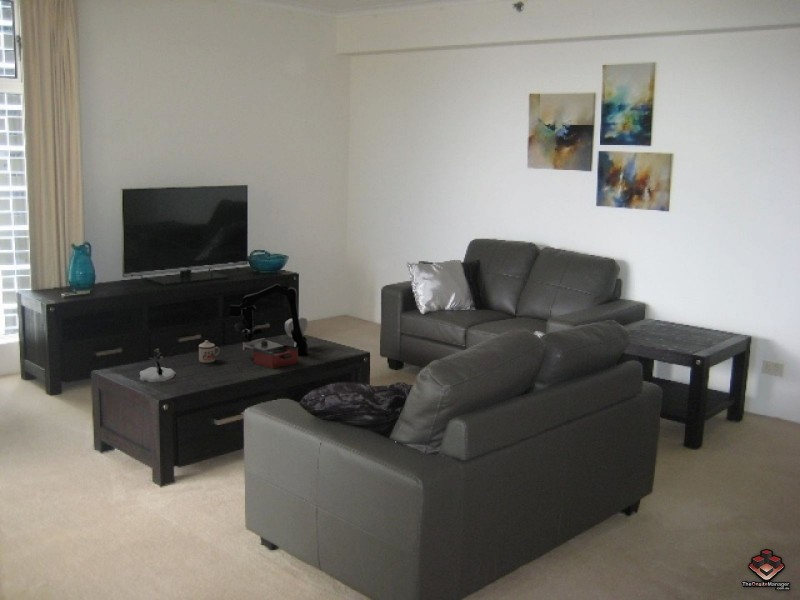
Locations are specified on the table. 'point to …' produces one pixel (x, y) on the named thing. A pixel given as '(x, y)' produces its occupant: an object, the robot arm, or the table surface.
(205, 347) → the teacup with lid
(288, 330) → the heart sculpture
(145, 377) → the figurine
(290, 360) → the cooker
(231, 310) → the robot arm
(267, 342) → the lid
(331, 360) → the table surface
